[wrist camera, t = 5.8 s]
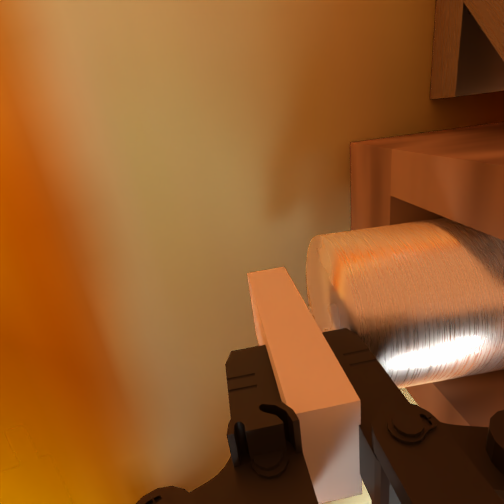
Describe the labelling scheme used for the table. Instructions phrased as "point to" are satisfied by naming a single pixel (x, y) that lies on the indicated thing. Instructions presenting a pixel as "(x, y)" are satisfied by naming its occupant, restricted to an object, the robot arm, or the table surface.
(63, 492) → the table surface
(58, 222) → the table surface
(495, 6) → the v block
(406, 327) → the axle
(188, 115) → the table surface
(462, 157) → the brown open box
